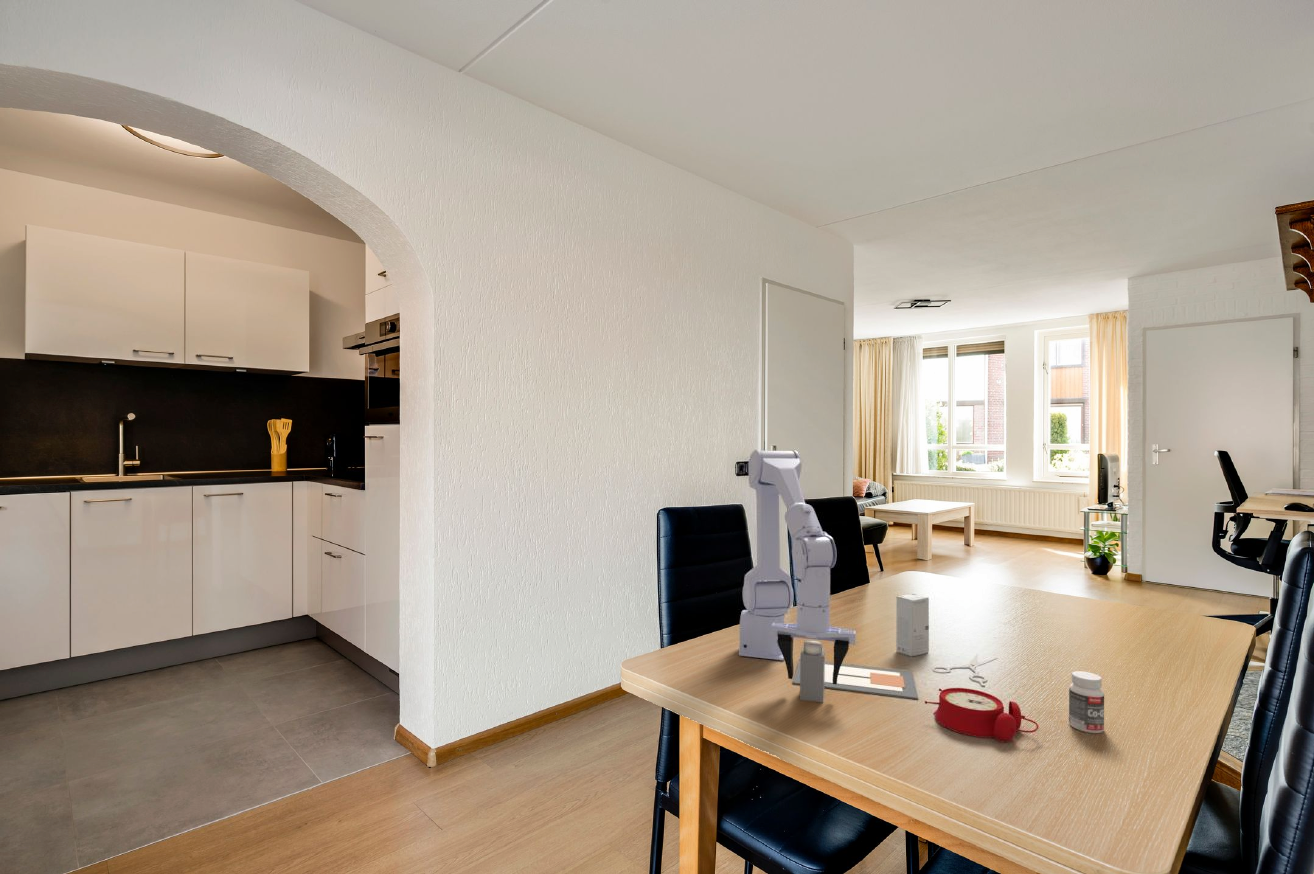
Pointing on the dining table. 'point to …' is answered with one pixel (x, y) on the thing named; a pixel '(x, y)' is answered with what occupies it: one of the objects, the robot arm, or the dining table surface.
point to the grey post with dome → (812, 672)
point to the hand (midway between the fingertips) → (812, 679)
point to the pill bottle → (1086, 702)
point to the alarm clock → (978, 714)
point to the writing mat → (868, 680)
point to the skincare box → (912, 625)
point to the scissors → (971, 666)
